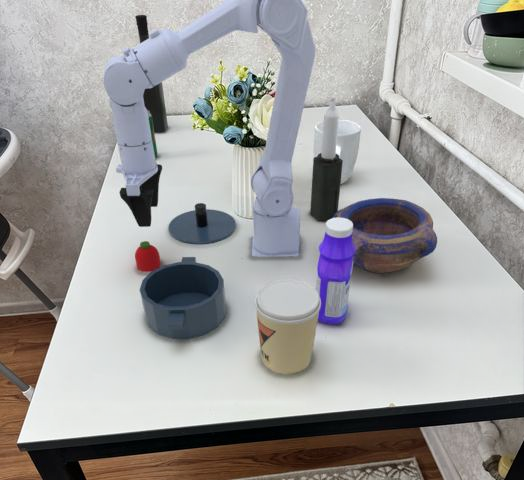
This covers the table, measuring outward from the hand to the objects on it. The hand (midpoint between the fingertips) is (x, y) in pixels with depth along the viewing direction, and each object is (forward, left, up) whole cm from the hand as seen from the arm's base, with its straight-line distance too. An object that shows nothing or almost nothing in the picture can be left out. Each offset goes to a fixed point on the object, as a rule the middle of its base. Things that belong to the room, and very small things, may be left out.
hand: (148, 215), depth 91 cm
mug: (-39, -37, -10) cm, 55 cm away
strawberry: (+1, +2, -10) cm, 10 cm away
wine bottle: (+12, -76, -10) cm, 78 cm away
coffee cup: (-25, +28, -10) cm, 39 cm away
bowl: (-44, 0, -10) cm, 45 cm away
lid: (-8, -13, -10) cm, 18 cm away
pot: (-8, +17, -10) cm, 21 cm away
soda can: (+11, -54, -10) cm, 56 cm away
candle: (-35, -19, -10) cm, 41 cm away
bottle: (-33, +17, -10) cm, 38 cm away
